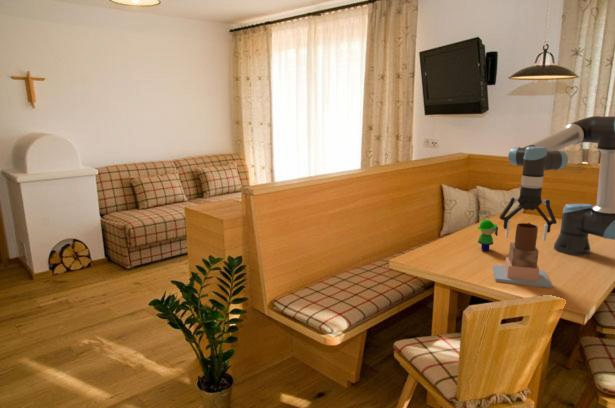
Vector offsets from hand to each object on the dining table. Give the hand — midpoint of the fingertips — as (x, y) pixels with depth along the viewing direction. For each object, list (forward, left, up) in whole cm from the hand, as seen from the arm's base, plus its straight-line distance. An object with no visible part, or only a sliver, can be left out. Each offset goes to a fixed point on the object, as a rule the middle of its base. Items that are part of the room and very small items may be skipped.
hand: (525, 238), depth 172 cm
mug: (0, 0, -4) cm, 4 cm away
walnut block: (0, 0, -10) cm, 10 cm away
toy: (+12, -33, -17) cm, 39 cm away
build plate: (0, 0, -17) cm, 17 cm away
